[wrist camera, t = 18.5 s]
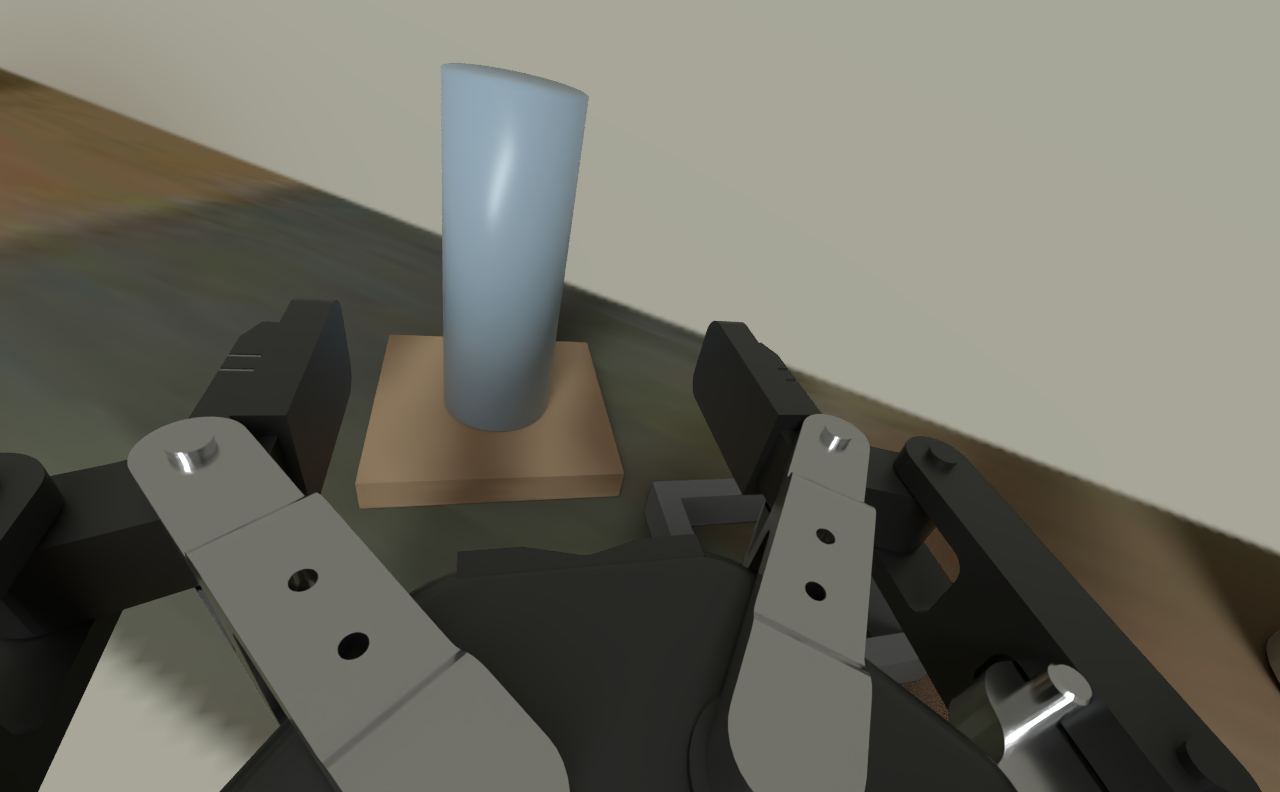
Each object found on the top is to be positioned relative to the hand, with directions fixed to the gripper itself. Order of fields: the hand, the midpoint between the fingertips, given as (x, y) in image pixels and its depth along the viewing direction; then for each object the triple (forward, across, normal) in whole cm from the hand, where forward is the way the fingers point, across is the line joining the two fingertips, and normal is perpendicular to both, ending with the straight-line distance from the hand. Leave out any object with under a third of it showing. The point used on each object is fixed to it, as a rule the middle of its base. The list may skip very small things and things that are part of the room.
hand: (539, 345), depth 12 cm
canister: (+11, 0, +10) cm, 15 cm away
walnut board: (+11, 0, +12) cm, 17 cm away
